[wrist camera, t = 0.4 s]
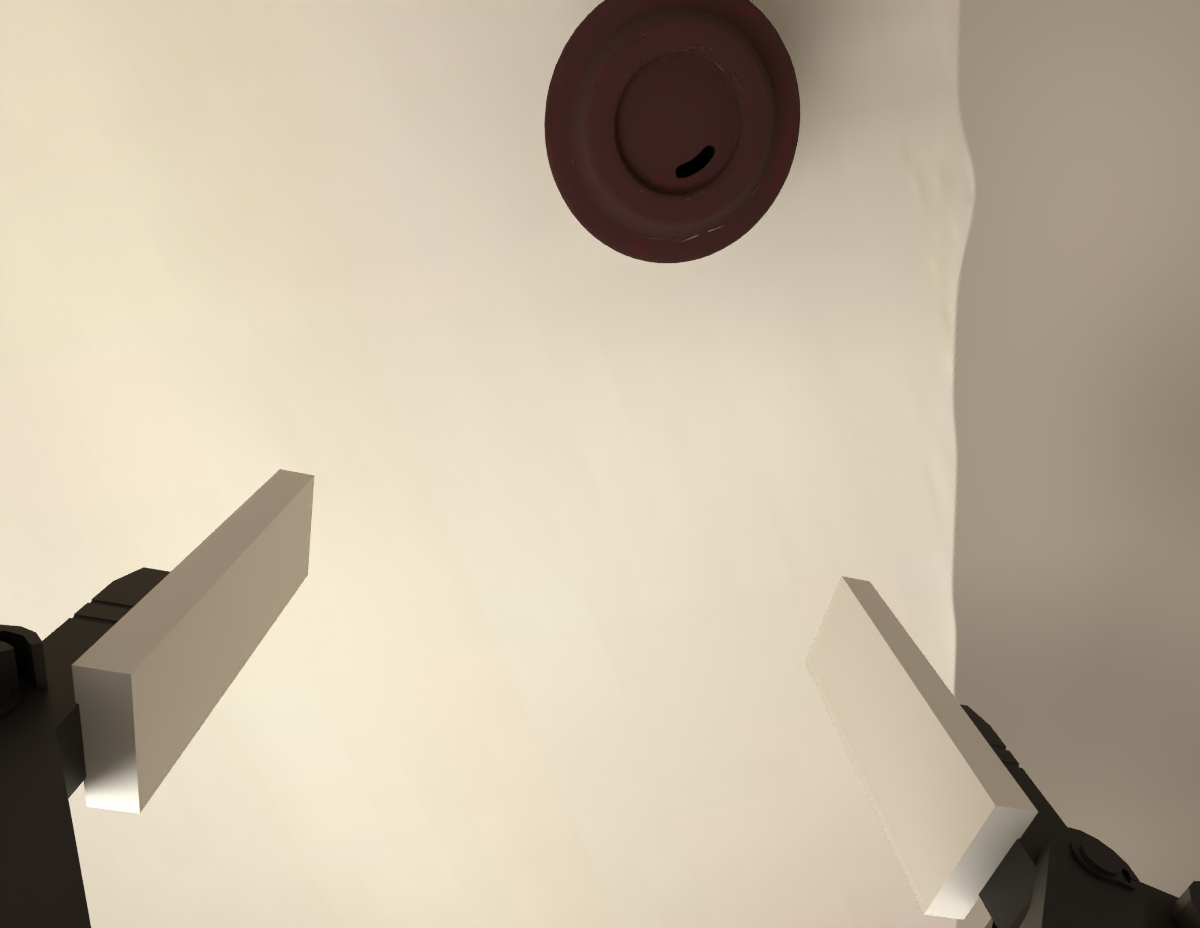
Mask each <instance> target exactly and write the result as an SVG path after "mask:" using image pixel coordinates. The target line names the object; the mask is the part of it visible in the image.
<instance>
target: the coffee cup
mask: <svg viewBox="0 0 1200 928" xmlns="http://www.w3.org/2000/svg"><path fill="white" fill-rule="evenodd" d="M799 125H800V98H799V91H798V84H797V80H796V75H795V71H794V67H793V64H792V61H791V59H790V56H789V54H788V52H787V50H786V48H785V46H784V44H783V42H782V40H781V38H780V36H779V34H778V32H777V31H776V29H775V28H774V27H773V25H772V24H771V22H770V21H769V20H768V19H767V18H766V16H765V15H764V14H763V13H762V12H761V11H760V10H759V9H758V8H757V7H756V6H754V5H753V4H752V3H751V2H750V1H749V0H605V1H603V2H602V3H601V4H599V5H598V6H597V7H596V8H595V9H594V10H593V11H592V12H591V13H590V14H588V16H587V17H586V18H585V19H584V20H583V21H582V23H581V24H580V25H579V26H578V27H577V28H576V30H575V31H574V33H573V34H572V36H571V37H570V39H569V41H568V42H567V44H566V45H565V47H564V49H563V51H562V54H561V56H560V58H559V60H558V62H557V64H556V66H555V69H554V72H553V76H552V79H551V82H550V86H549V90H548V95H547V101H546V111H545V142H546V149H547V155H548V160H549V164H550V168H551V171H552V174H553V177H554V180H555V182H556V185H557V187H558V189H559V192H560V194H561V196H562V198H563V199H564V201H565V203H566V204H567V206H568V207H569V209H570V211H571V212H572V214H573V215H574V216H575V217H576V218H577V220H578V221H579V222H580V223H581V225H582V226H583V227H584V228H585V229H586V230H587V231H588V232H590V233H591V234H592V235H593V236H594V237H595V238H597V239H598V240H599V241H601V242H602V243H604V244H605V245H607V246H608V247H610V248H612V249H614V250H615V251H617V252H619V253H622V254H624V255H626V256H629V257H632V258H635V259H639V260H643V261H648V262H655V263H679V262H686V261H692V260H696V259H700V258H703V257H705V256H708V255H711V254H713V253H715V252H717V251H720V250H722V249H724V248H725V247H727V246H729V245H731V244H732V243H734V242H735V241H737V240H738V239H739V238H741V237H742V236H743V235H744V234H746V233H747V232H748V231H749V230H750V229H751V228H752V227H753V226H754V225H755V224H756V223H757V222H758V221H759V220H760V219H761V218H762V216H763V215H764V214H765V213H766V212H767V211H768V209H769V208H770V206H771V205H772V204H773V202H774V201H775V199H776V197H777V196H778V194H779V192H780V190H781V188H782V186H783V185H784V183H785V180H786V178H787V176H788V174H789V171H790V168H791V165H792V162H793V159H794V155H795V151H796V146H797V142H798V135H799Z"/></svg>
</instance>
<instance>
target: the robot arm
mask: <svg viewBox="0 0 1200 928" xmlns="http://www.w3.org/2000/svg"><path fill="white" fill-rule="evenodd" d="M313 486H314V476H313V475H308V474H302V473H297V472H292V471H287V470H281V469H280V470H279V471H278V472H277V473H276V474H275V475H273V476H272V477H271V478H270V479H269V480H268V481H267V482H266V483H265V484H264V485H263V486H262V487H261V488H260V489H259V490H257V491H256V492H255V493H254V494H253V495H252V496H251V497H250V498H249V499H248V500H247V501H246V502H245V503H244V504H243V505H242V506H240V507H239V508H238V509H237V510H236V511H235V512H234V513H233V514H232V515H231V516H230V517H229V518H228V519H227V520H226V521H224V522H223V523H222V524H221V525H220V526H219V527H218V528H217V529H216V530H215V531H214V532H213V533H212V534H211V535H210V536H209V537H207V538H206V539H205V540H204V541H203V542H202V543H201V544H200V545H199V546H198V547H197V548H196V549H195V550H194V551H193V552H191V553H190V554H189V555H188V556H187V557H186V558H185V559H184V560H183V561H182V562H181V563H180V564H179V565H178V566H177V567H176V568H174V569H173V570H172V571H171V572H168V571H162V570H156V569H150V568H141V569H139V570H137V571H135V572H132V573H130V574H128V575H126V576H124V577H121V578H119V579H117V580H115V581H113V582H112V583H111V584H109V585H108V586H107V587H106V588H105V589H103V590H102V591H101V592H100V593H99V594H98V595H96V596H95V597H94V598H93V599H92V601H91V603H87V604H86V605H84V606H83V607H82V608H81V609H80V610H79V611H77V612H76V613H75V614H74V617H73V618H69V619H68V620H67V621H66V622H64V623H63V624H62V625H61V626H60V627H58V628H57V629H56V630H55V631H54V632H52V633H51V634H50V635H49V636H48V637H47V638H45V639H44V640H43V641H41V639H40V638H39V636H38V635H37V633H36V632H33V631H31V630H28V629H26V628H24V627H21V626H9V625H0V928H91V925H90V919H89V913H88V908H87V902H86V897H85V891H84V885H83V880H82V874H81V868H80V863H79V857H78V852H77V846H76V840H75V835H74V829H73V823H72V818H71V812H70V807H69V801H68V798H69V797H70V796H71V795H72V794H73V792H74V791H75V790H76V789H77V788H78V786H79V785H80V784H81V783H82V782H83V780H84V786H85V796H86V805H87V807H94V808H101V809H109V810H117V811H125V812H133V813H140V812H141V811H142V810H143V808H144V807H145V805H146V804H147V802H148V801H149V800H150V798H151V797H152V795H153V794H154V792H155V791H156V790H157V788H158V787H159V785H160V784H161V783H162V781H163V780H164V778H165V777H166V775H167V774H168V773H169V771H170V770H171V768H172V767H173V765H174V764H175V763H176V761H177V760H178V758H179V757H180V756H181V754H182V753H183V751H184V750H185V748H186V747H187V746H188V744H189V743H190V741H191V740H192V738H193V737H194V736H195V734H196V733H197V731H198V730H199V729H200V727H201V726H202V724H203V723H204V721H205V720H206V719H207V717H208V716H209V714H210V713H211V711H212V710H213V709H214V707H215V706H216V704H217V703H218V702H219V700H220V699H221V697H222V696H223V694H224V693H225V692H226V690H227V689H228V687H229V686H230V684H231V683H232V682H233V680H234V679H235V677H236V676H237V675H238V673H239V672H240V670H241V669H242V667H243V666H244V665H245V663H246V662H247V660H248V659H249V657H250V656H251V655H252V653H253V652H254V650H255V649H256V648H257V646H258V645H259V643H260V642H261V640H262V639H263V638H264V636H265V635H266V633H267V632H268V630H269V629H270V628H271V626H272V625H273V623H274V622H275V621H276V619H277V618H278V616H279V615H280V613H281V612H282V611H283V609H284V608H285V606H286V605H287V603H288V602H289V601H290V599H291V598H292V596H293V595H294V594H295V592H296V591H297V589H298V588H299V586H300V585H301V584H302V582H303V581H304V579H305V578H306V577H307V575H308V562H309V547H310V532H311V516H312V501H313ZM805 663H806V665H807V667H808V669H809V672H810V674H811V676H812V678H813V680H814V682H815V684H816V686H817V689H818V691H819V693H820V695H821V697H822V699H823V701H824V703H825V705H826V708H827V710H828V712H829V714H830V716H831V718H832V720H833V722H834V725H835V727H836V729H837V731H838V733H839V735H840V737H841V739H842V741H843V744H844V746H845V748H846V750H847V752H848V754H849V756H850V758H851V761H852V763H853V765H854V767H855V769H856V771H857V773H858V775H859V778H860V780H861V782H862V784H863V786H864V788H865V790H866V792H867V794H868V797H869V799H870V801H871V803H872V805H873V807H874V809H875V811H876V814H877V816H878V818H879V820H880V822H881V824H882V826H883V828H884V831H885V833H886V835H887V837H888V839H889V841H890V843H891V845H892V847H893V850H894V852H895V854H896V856H897V858H898V860H899V862H900V864H901V867H902V869H903V871H904V873H905V875H906V877H907V879H908V881H909V884H910V886H911V888H912V890H913V892H914V894H915V896H916V898H917V900H918V903H919V905H920V907H921V909H922V911H923V913H924V915H932V916H940V917H948V918H955V919H964V918H965V917H966V915H967V914H968V912H969V911H970V910H971V908H972V907H973V905H974V904H975V902H976V901H977V899H978V898H979V897H980V898H981V899H982V901H983V903H984V905H985V907H986V908H987V910H988V912H989V914H990V916H991V917H992V918H991V919H990V921H989V922H988V924H987V925H986V927H985V928H1200V881H1194V882H1193V883H1192V884H1191V885H1190V886H1189V887H1188V889H1187V890H1186V891H1185V892H1184V893H1183V894H1182V895H1181V896H1180V898H1177V897H1175V896H1173V895H1170V894H1168V893H1166V892H1163V891H1161V890H1158V889H1156V888H1154V887H1151V886H1148V885H1146V884H1144V883H1141V882H1139V880H1138V878H1137V877H1136V875H1135V874H1134V872H1133V871H1132V870H1131V868H1130V867H1129V866H1128V864H1127V863H1126V862H1125V861H1123V860H1122V859H1121V858H1120V857H1119V856H1118V855H1117V854H1116V853H1115V852H1114V851H1113V850H1112V849H1110V848H1109V847H1107V846H1106V845H1105V844H1103V843H1102V842H1100V841H1099V840H1098V839H1096V838H1094V837H1092V836H1090V835H1088V834H1086V833H1084V832H1082V831H1080V830H1076V829H1072V828H1068V827H1067V826H1066V825H1065V824H1064V822H1063V821H1062V820H1061V818H1060V817H1059V816H1058V815H1057V813H1056V812H1055V811H1054V809H1053V808H1052V807H1051V805H1050V804H1049V803H1048V801H1047V800H1046V799H1045V797H1044V796H1043V795H1042V793H1041V792H1040V791H1039V789H1038V788H1037V787H1036V786H1035V784H1034V783H1033V782H1032V780H1031V779H1030V778H1029V776H1028V775H1027V774H1026V772H1025V771H1024V770H1023V769H1022V768H1019V763H1018V762H1017V760H1016V759H1015V758H1014V757H1013V755H1012V754H1011V753H1010V751H1008V750H1006V746H1005V745H1004V743H1003V742H1002V741H1001V739H1000V738H999V737H998V735H997V734H996V733H995V732H994V731H993V729H992V728H991V726H990V725H989V724H987V723H986V722H985V721H984V720H983V719H982V718H981V717H980V716H978V715H977V714H976V713H975V712H974V711H973V710H972V709H970V708H969V707H968V706H966V705H960V704H959V703H958V702H957V700H956V699H955V697H954V696H953V695H952V693H951V692H950V690H949V689H948V688H947V686H946V685H945V684H944V682H943V681H942V680H941V678H940V677H939V675H938V674H937V673H936V671H935V670H934V669H933V667H932V666H931V665H930V663H929V662H928V660H927V659H926V658H925V656H924V655H923V654H922V652H921V651H920V650H919V648H918V647H917V645H916V644H915V643H914V641H913V640H912V639H911V637H910V636H909V634H908V633H907V632H906V630H905V629H904V628H903V626H902V625H901V624H900V622H899V621H898V619H897V618H896V617H895V615H894V614H893V613H892V611H891V610H890V609H889V607H888V606H887V604H886V603H885V602H884V600H883V599H882V598H881V596H880V595H879V593H878V592H877V591H876V589H875V588H874V587H873V585H872V584H871V583H870V582H869V581H864V580H859V579H854V578H848V577H843V576H842V577H841V580H840V582H839V584H838V586H837V589H836V591H835V593H834V595H833V598H832V600H831V602H830V604H829V607H828V609H827V611H826V613H825V616H824V618H823V620H822V623H821V625H820V627H819V629H818V632H817V634H816V636H815V638H814V641H813V643H812V645H811V647H810V650H809V652H808V654H807V657H806V659H805Z"/></svg>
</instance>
